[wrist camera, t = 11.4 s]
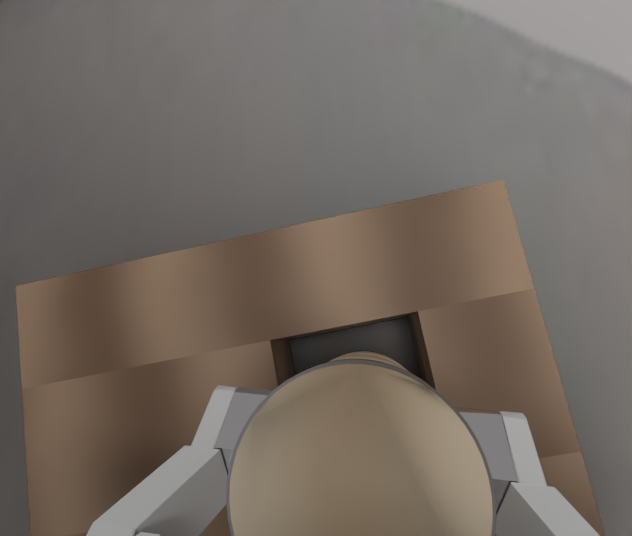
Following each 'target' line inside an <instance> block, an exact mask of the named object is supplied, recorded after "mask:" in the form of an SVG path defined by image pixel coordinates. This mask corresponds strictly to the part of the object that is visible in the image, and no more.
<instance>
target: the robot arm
mask: <svg viewBox="0 0 632 536" xmlns="http://www.w3.org/2000/svg"><path fill="white" fill-rule="evenodd" d="M271 392H272V391H270V390H261V389H252V388H243V387H235V386H224V385H218V386H217V387H216V388H215V390H214V391H213V393H212V396H211V398H210V400H209V403H208V405H207V408H206V410H205V412H204V415H203V417H202V420H201V422H200V425H199V427H198V429H197V432H196V434H195V437H194V439H193V442H192V444H191V446H186V445H185V446H183V447H182V448H181V449H180V450H179V451H177V452H176V453H175V454H174V455H173V456H172V457H170V458H169V459H168V460H167V461H166V462H164V463H163V464H162V465H161V466H160V467H158V468H157V469H156V470H155V471H154V472H153V473H151V474H150V475H149V476H148V477H147V478H145V479H144V480H143V481H142V482H141V483H139V484H138V485H137V486H136V487H135V488H134V489H132V490H131V491H130V492H129V493H128V494H126V495H125V496H124V497H123V498H122V499H120V500H119V501H118V502H117V503H116V504H114V505H113V506H112V507H111V508H110V509H109V510H107V511H106V512H105V513H104V514H103V515H101V516H100V517H99V518H98V519H97V520H95V521H94V522H93V524H92V525H91V527H90V529H89V531H88V533H87V535H86V536H199V535H200V534H201V533H202V532H203V531H204V529H205V528H206V527H207V526H208V525H209V524H210V522H211V521H212V520H213V519H214V518H215V517H216V515H217V514H218V513H219V512H220V511H221V510H222V508H223V507H224V506H225V505H226V504H227V503H226V493H227V478H228V472H229V466H230V462H231V458H232V455H233V451H234V448H235V445H236V443H237V440H238V438H239V436H240V433H241V431H242V429H243V428H244V426H245V424H246V422H247V421H248V419H249V417H250V416H251V414H252V413H253V412H254V411H255V409H256V408H257V407H258V405H259V404H260V403H261V402H262V401H263V400H264V399H265V398H266V397H267V396H268V395H269V394H270V393H271ZM455 408H456V409H457V410H458V412H459V413H460V414H461V415H462V417H463V418H464V419H465V420H466V422H467V423H468V425H469V426H470V428H471V429H472V431H473V433H474V434H475V436H476V438H477V439H478V441H479V444H480V446H481V448H482V450H483V452H484V455H485V457H486V460H487V463H488V466H489V469H490V472H491V476H492V481H493V486H494V491H495V500H496V528H495V534H496V536H600V535H599V534H598V533H597V532H596V531H595V530H594V529H593V528H592V527H591V526H590V524H589V523H588V522H587V521H586V520H585V519H584V518H583V517H582V516H581V515H580V514H579V513H578V512H577V510H576V509H575V508H574V507H573V506H572V505H571V504H570V503H569V502H568V501H567V500H566V499H565V498H564V497H563V495H562V494H561V493H560V492H559V491H558V490H557V489H556V488H555V487H551V486H547V484H546V481H545V477H544V474H543V471H542V467H541V464H540V461H539V457H538V454H537V451H536V448H535V444H534V441H533V438H532V434H531V431H530V428H529V425H528V421H527V418H526V417H525V415H524V414H523V413H519V412H506V411H497V410H490V409H477V408H464V407H455Z"/></svg>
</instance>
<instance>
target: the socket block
mask: <svg viewBox="0 0 632 536" xmlns="http://www.w3.org/2000/svg"><path fill="white" fill-rule="evenodd" d="M16 301H17V318H18V334H19V351H20V367H21V384H22V401H23V417H24V434H25V450H26V467H27V484H28V500H29V517H30V533H31V536H86V535H87V533H88V531H89V529H90V527H91V525H92V524H93V522H94V521H95V520H97V519H98V518H99V517H100V516H101V515H103V514H104V513H105V512H106V511H107V510H109V509H110V508H111V507H112V506H113V505H114V504H116V503H117V502H118V501H119V500H120V499H122V498H123V497H124V496H125V495H126V494H128V493H129V492H130V491H131V490H132V489H134V488H135V487H136V486H137V485H138V484H139V483H141V482H142V481H143V480H144V479H145V478H147V477H148V476H149V475H150V474H151V473H153V472H154V471H155V470H156V469H157V468H158V467H160V466H161V465H162V464H163V463H164V462H166V461H167V460H168V459H169V458H170V457H172V456H173V455H174V454H175V453H176V452H177V451H179V450H180V449H181V448H182V447H183V446H185V445H186V446H191V444H192V442H193V439H194V437H195V434H196V432H197V429H198V427H199V425H200V422H201V420H202V417H203V415H204V412H205V410H206V408H207V405H208V403H209V400H210V398H211V396H212V393H213V391H214V390H215V388H216V387H217V386H218V385H224V386H235V387H243V388H252V389H261V390H270V391H273V390H274V389H276V388H277V387H278V386H279V385H281V384H282V383H283V382H285V381H286V380H288V379H290V378H292V377H293V376H295V371H294V365H293V360H292V354H291V348H290V342H289V340H291V339H296V338H301V337H306V336H311V335H317V334H322V333H327V332H332V331H337V330H342V329H347V328H352V327H357V326H363V325H368V324H373V323H378V322H383V321H388V320H393V319H398V318H403V317H408V321H409V325H410V329H411V334H412V338H413V342H414V347H415V351H416V356H417V360H418V364H419V369H420V373H421V377H422V380H423V381H425V382H426V383H427V384H429V385H430V386H431V387H433V388H434V389H435V390H436V391H438V392H439V393H440V394H442V395H443V396H444V397H445V398H446V399H447V400H448V401H449V402H450V403H451V404H452V405H453V406H454V407H464V408H477V409H490V410H497V411H506V412H519V413H523V414H524V415H525V417H526V418H527V421H528V425H529V428H530V431H531V434H532V438H533V441H534V444H535V448H536V451H537V454H538V457H539V461H540V464H541V467H542V471H543V474H544V477H545V481H546V484H547V486H551V487H555V488H556V489H557V490H558V491H559V492H560V493H561V494H562V495H563V497H564V498H565V499H566V500H567V501H568V502H569V503H570V504H571V505H572V506H573V507H574V508H575V509H576V510H577V512H578V513H579V514H580V515H581V516H582V517H583V518H584V519H585V520H586V521H587V522H588V523H589V524H590V526H591V527H592V528H593V529H594V530H595V531H596V532H597V533H598V534H599V535H600V536H605V533H604V529H603V526H602V523H601V519H600V516H599V512H598V509H597V505H596V502H595V498H594V495H593V491H592V488H591V484H590V481H589V477H588V474H587V470H586V467H585V463H584V460H583V456H582V453H581V449H580V446H579V442H578V439H577V435H576V432H575V428H574V425H573V421H572V418H571V414H570V411H569V407H568V404H567V400H566V397H565V393H564V390H563V386H562V383H561V379H560V376H559V372H558V369H557V365H556V362H555V358H554V355H553V351H552V348H551V344H550V341H549V337H548V334H547V330H546V327H545V323H544V320H543V316H542V313H541V309H540V306H539V302H538V299H537V295H536V292H535V288H534V285H533V281H532V278H531V275H530V271H529V268H528V264H527V261H526V257H525V254H524V250H523V247H522V243H521V240H520V236H519V233H518V229H517V226H516V222H515V219H514V215H513V212H512V208H511V205H510V201H509V198H508V194H507V191H506V187H505V184H504V180H499V181H494V182H490V183H485V184H481V185H476V186H472V187H467V188H462V189H458V190H453V191H449V192H444V193H439V194H435V195H430V196H426V197H421V198H417V199H412V200H407V201H403V202H398V203H394V204H389V205H385V206H380V207H375V208H371V209H366V210H362V211H357V212H352V213H348V214H343V215H339V216H334V217H330V218H325V219H320V220H316V221H311V222H307V223H302V224H297V225H293V226H288V227H284V228H279V229H275V230H270V231H265V232H261V233H256V234H252V235H247V236H242V237H238V238H233V239H229V240H224V241H220V242H215V243H210V244H206V245H201V246H197V247H192V248H187V249H183V250H178V251H174V252H169V253H165V254H160V255H155V256H151V257H146V258H142V259H137V260H132V261H128V262H123V263H119V264H114V265H110V266H105V267H100V268H96V269H91V270H87V271H82V272H77V273H73V274H68V275H64V276H59V277H55V278H50V279H45V280H41V281H36V282H32V283H27V284H22V285H18V286H16ZM199 536H231V533H230V527H229V522H228V516H227V504H226V505H225V506H224V507H223V508H222V510H221V511H220V512H219V513H218V514H217V515H216V517H215V518H214V519H213V520H212V521H211V522H210V524H209V525H208V526H207V527H206V528H205V529H204V531H203V532H202V533H201V534H200V535H199ZM495 536H496V534H495Z"/></svg>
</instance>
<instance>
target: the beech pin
mask: <svg viewBox="0 0 632 536" xmlns="http://www.w3.org/2000/svg"><path fill="white" fill-rule="evenodd" d="M226 503H227V516H228V522H229V527H230V533H231V536H495V528H496V500H495V491H494V486H493V481H492V476H491V472H490V469H489V466H488V463H487V460H486V457H485V455H484V452H483V450H482V448H481V446H480V444H479V441H478V439H477V438H476V436H475V434H474V433H473V431H472V429H471V428H470V426H469V425H468V423H467V422H466V420H465V419H464V418H463V417H462V415H461V414H460V413H459V412H458V410H457V409H456V408H455V407H454V406H453V405H452V404H451V403H450V402H449V401H448V400H447V399H446V398H445V397H444V396H443V395H442V394H440V393H439V392H438V391H436V390H435V389H434V388H433V387H431V386H430V385H429V384H427V383H426V382H425V381H423V380H422V379H420V378H419V377H417V376H415V375H414V374H412V373H410V372H409V371H408V370H406V369H405V368H404V367H403V366H402V365H400V364H399V363H398V362H396V361H395V360H393V359H391V358H390V357H387V356H385V355H382V354H379V353H375V352H369V351H356V352H350V353H346V354H343V355H341V356H338V357H336V358H334V359H332V360H331V361H329V362H326V363H323V364H319V365H317V366H314V367H312V368H309V369H307V370H305V371H303V372H300V373H298V374H297V375H295V376H293V377H292V378H290V379H288V380H286V381H285V382H283V383H282V384H281V385H279V386H278V387H277V388H276V389H274V390H273V391H272V392H271V393H270V394H269V395H268V396H267V397H266V398H265V399H264V400H263V401H262V402H261V403H260V404H259V405H258V407H257V408H256V409H255V411H254V412H253V413H252V414H251V416H250V417H249V419H248V421H247V422H246V424H245V426H244V428H243V429H242V431H241V433H240V436H239V438H238V440H237V443H236V445H235V448H234V451H233V455H232V458H231V462H230V466H229V472H228V478H227V493H226Z"/></svg>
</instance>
